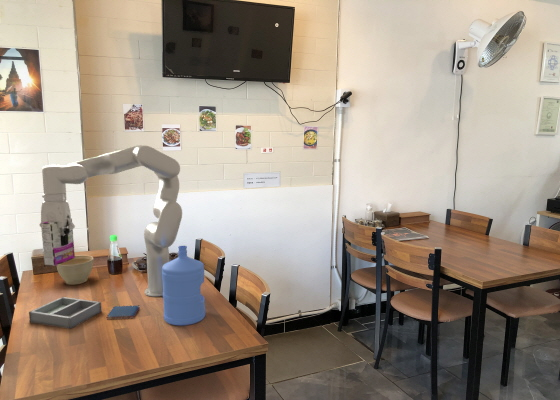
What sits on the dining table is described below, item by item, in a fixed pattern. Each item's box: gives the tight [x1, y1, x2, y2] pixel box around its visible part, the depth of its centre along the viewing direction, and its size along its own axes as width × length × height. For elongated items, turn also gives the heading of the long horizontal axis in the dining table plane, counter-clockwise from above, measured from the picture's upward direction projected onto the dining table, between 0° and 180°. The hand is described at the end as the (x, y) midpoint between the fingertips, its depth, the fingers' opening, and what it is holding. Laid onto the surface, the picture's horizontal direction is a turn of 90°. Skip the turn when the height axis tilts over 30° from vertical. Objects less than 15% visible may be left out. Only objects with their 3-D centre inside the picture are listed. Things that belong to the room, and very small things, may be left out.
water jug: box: [162, 245, 206, 326], centre depth 161 cm, size 16×16×28 cm
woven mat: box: [105, 304, 140, 321], centre depth 167 cm, size 10×11×2 cm
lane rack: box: [28, 296, 102, 330], centre depth 164 cm, size 19×16×4 cm
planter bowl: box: [56, 254, 94, 285], centre depth 204 cm, size 16×16×11 cm
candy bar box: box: [40, 217, 76, 267], centre depth 164 cm, size 11×5×16 cm, turn 166°
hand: (58, 244), depth 164 cm, fingers closed on candy bar box, 5 cm apart
